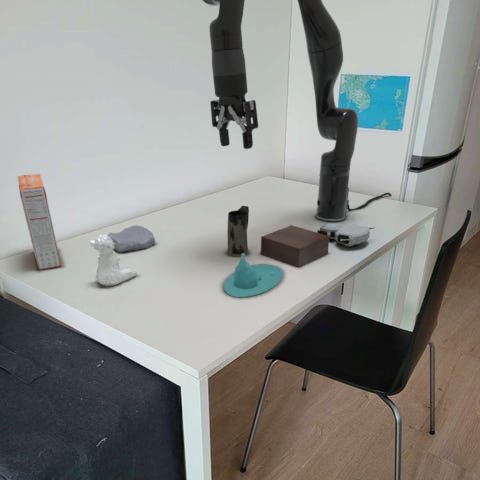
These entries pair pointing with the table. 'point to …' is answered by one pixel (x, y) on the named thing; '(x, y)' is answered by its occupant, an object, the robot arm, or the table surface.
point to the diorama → (251, 279)
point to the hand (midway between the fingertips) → (236, 147)
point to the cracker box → (39, 221)
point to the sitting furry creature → (109, 263)
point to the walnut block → (294, 245)
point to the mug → (238, 231)
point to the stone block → (132, 238)
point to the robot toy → (346, 233)
